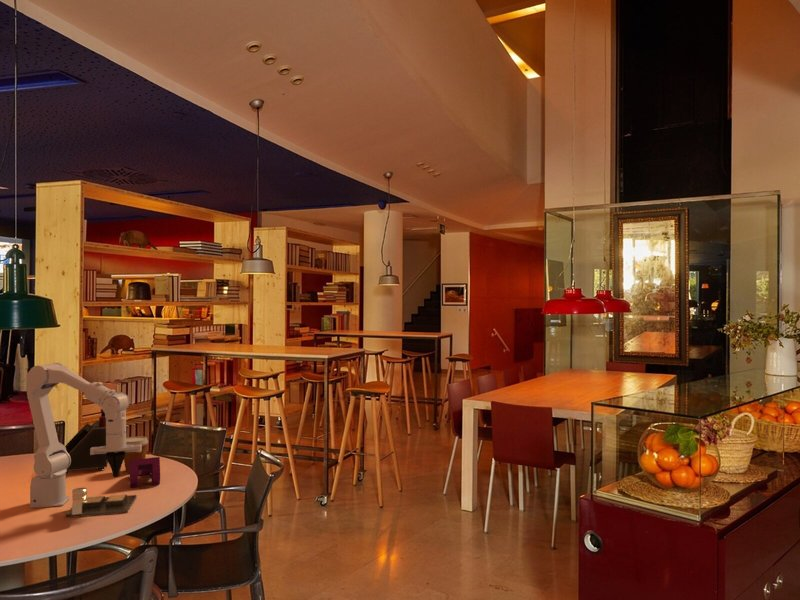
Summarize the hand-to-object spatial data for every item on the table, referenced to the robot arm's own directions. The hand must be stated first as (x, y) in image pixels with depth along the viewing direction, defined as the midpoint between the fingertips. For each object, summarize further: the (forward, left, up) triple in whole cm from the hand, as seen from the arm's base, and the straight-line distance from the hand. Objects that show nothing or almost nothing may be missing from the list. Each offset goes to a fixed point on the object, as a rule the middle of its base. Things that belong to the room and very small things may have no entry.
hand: (116, 476), depth 190 cm
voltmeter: (-22, +51, -10) cm, 57 cm away
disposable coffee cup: (-2, +41, -10) cm, 42 cm away
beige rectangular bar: (-9, -6, -6) cm, 13 cm away
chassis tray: (-4, 0, -9) cm, 10 cm away
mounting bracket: (+3, +27, -10) cm, 29 cm away
